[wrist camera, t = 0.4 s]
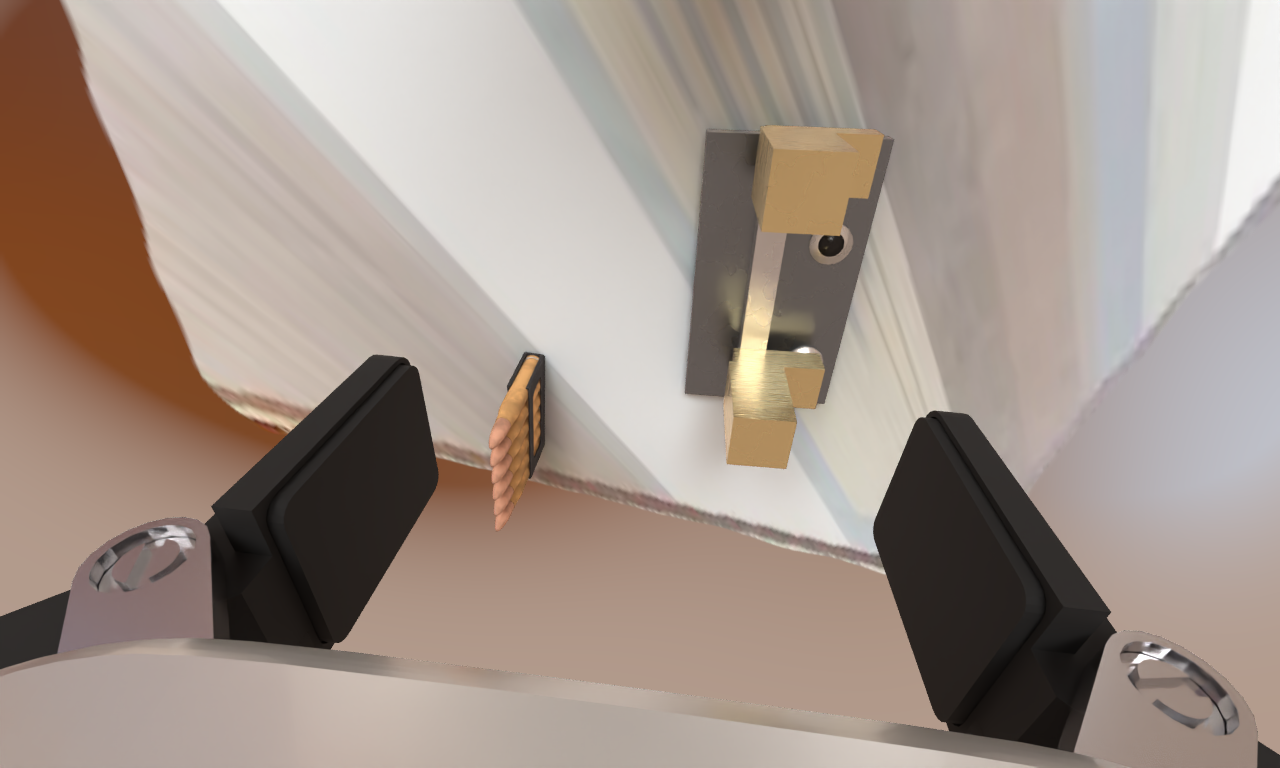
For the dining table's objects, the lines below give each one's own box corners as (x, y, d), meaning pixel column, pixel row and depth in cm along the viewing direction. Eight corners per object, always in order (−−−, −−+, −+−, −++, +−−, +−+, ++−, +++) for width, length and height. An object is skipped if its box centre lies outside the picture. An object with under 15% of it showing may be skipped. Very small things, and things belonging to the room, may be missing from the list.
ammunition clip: (524, 351, 48) (477, 436, 38) (544, 354, 48) (503, 440, 38) (526, 442, 54) (486, 537, 44) (544, 445, 54) (508, 540, 44)
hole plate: (706, 129, 36) (708, 168, 26) (888, 136, 36) (962, 180, 25) (685, 385, 48) (680, 481, 38) (821, 395, 47) (854, 496, 37)
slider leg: (756, 118, 34) (773, 148, 26) (870, 122, 34) (927, 155, 25) (747, 183, 36) (761, 231, 28) (855, 188, 36) (902, 239, 27)
